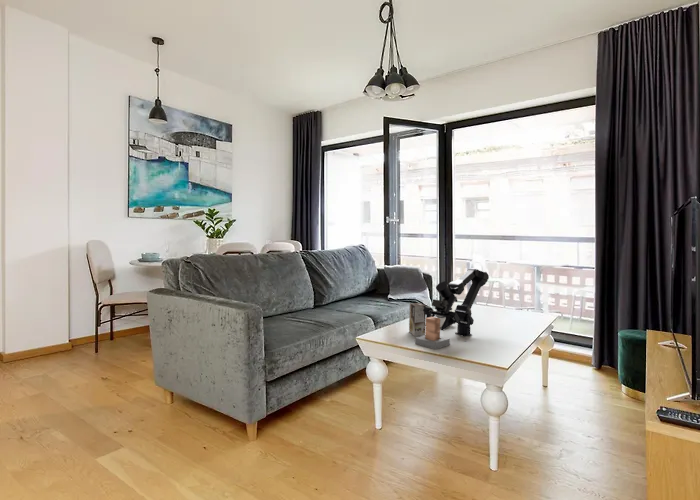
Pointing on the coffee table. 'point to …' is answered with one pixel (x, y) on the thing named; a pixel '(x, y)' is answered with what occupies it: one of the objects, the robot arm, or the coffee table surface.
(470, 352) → the coffee table surface
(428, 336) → the peg
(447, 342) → the socket block
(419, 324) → the coffee box
